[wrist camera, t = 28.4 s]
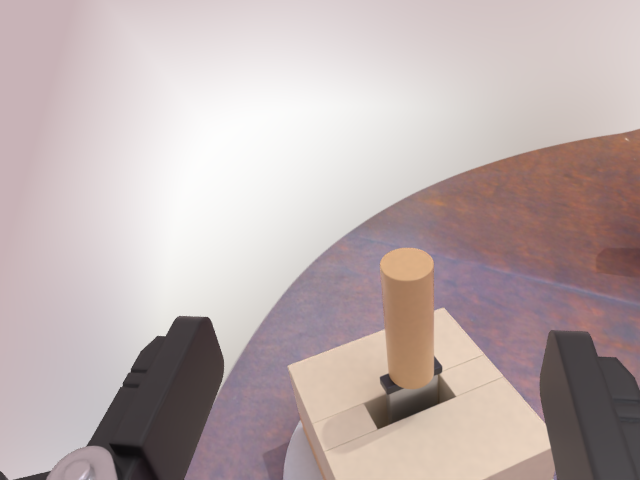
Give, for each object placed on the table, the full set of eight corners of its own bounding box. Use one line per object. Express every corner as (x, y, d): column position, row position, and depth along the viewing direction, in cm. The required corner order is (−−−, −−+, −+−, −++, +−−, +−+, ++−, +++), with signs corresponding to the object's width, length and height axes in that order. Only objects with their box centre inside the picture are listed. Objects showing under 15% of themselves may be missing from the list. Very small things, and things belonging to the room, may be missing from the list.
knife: (399, 475, 33) (385, 291, 24) (380, 441, 35) (361, 260, 26) (448, 452, 34) (453, 266, 25) (428, 421, 36) (425, 238, 27)
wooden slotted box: (369, 595, 29) (359, 536, 25) (302, 427, 39) (287, 365, 35) (546, 508, 32) (562, 442, 28) (442, 370, 41) (443, 306, 37)
